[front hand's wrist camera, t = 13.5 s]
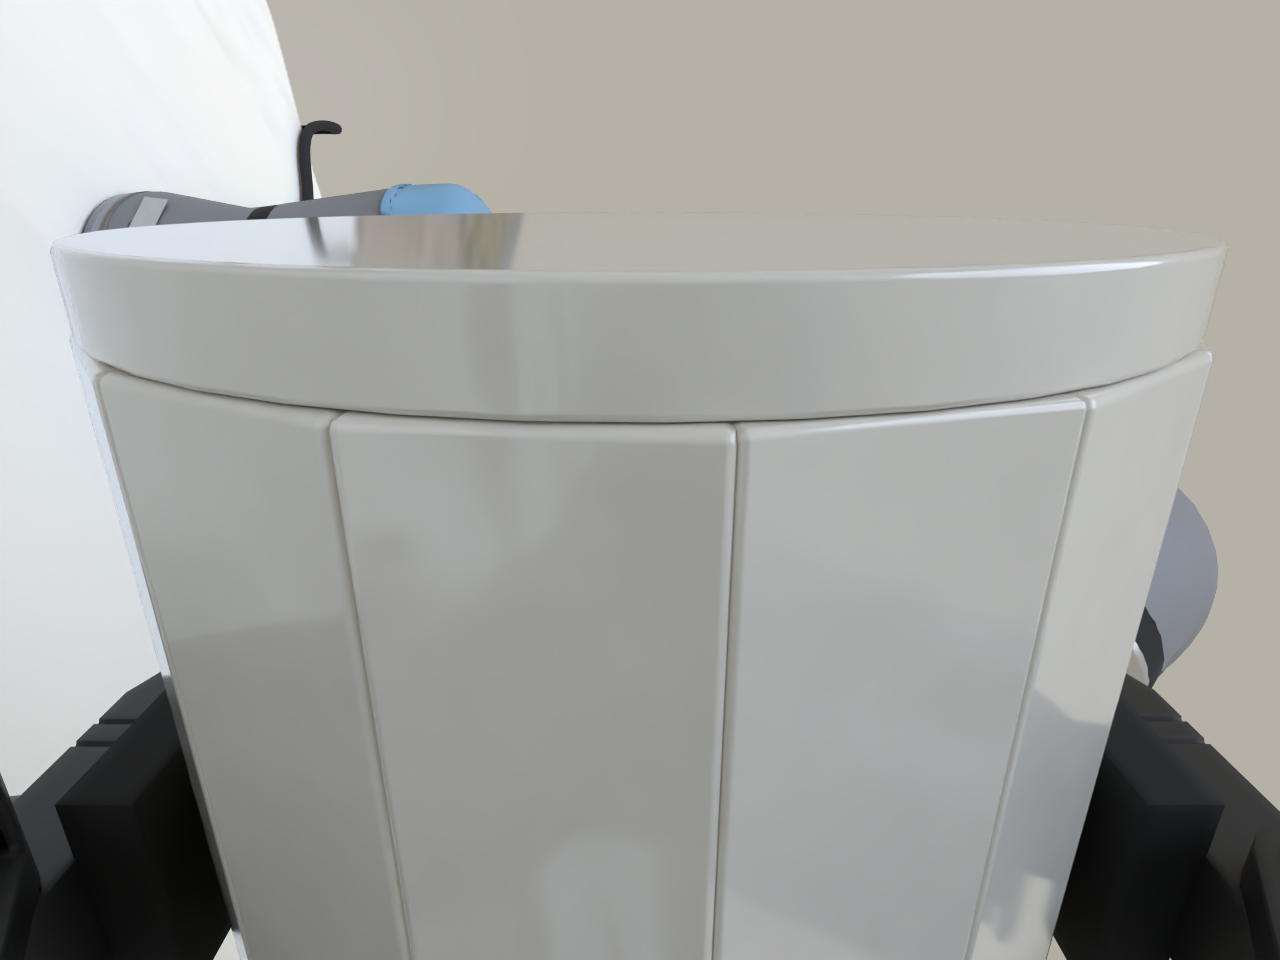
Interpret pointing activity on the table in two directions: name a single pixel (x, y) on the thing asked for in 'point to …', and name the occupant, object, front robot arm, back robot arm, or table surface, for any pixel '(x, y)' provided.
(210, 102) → the table surface
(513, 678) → the grey paneled bucket
